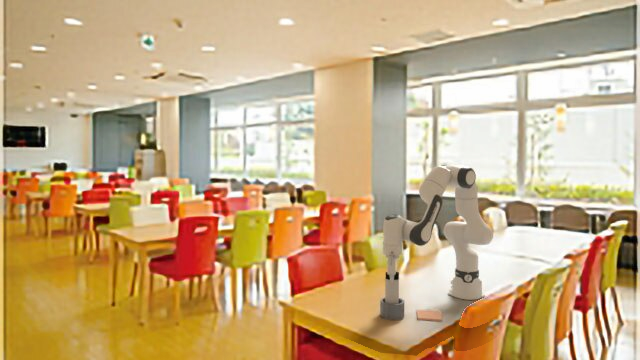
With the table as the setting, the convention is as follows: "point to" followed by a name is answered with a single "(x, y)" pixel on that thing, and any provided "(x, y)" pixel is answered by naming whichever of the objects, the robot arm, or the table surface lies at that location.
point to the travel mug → (392, 289)
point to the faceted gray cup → (392, 310)
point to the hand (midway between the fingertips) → (392, 279)
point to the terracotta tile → (429, 315)
